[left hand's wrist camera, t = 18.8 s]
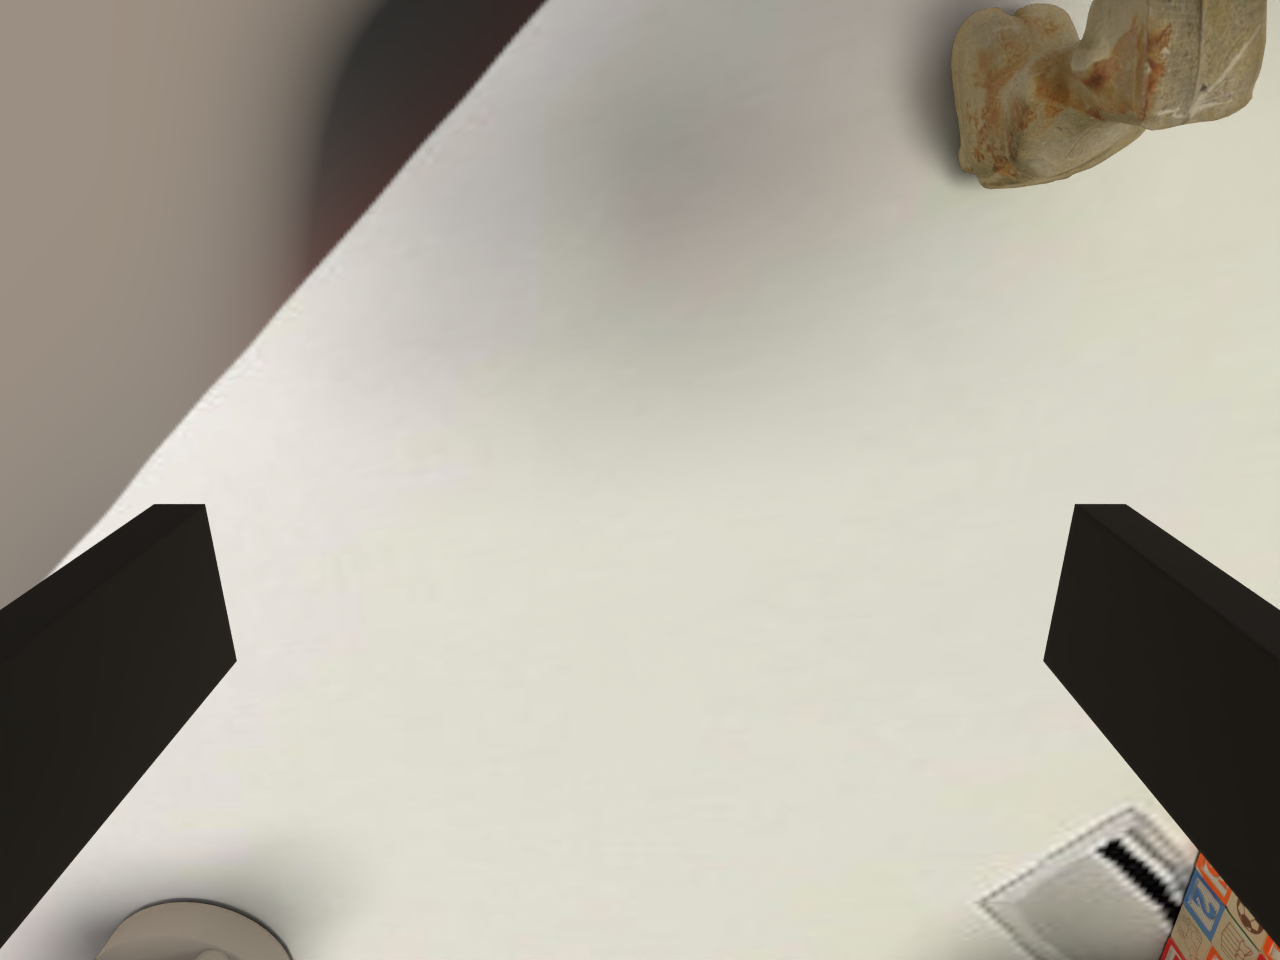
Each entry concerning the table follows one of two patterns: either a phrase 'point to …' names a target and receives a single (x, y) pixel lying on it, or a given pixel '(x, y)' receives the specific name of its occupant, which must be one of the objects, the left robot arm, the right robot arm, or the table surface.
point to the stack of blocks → (1216, 924)
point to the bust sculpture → (190, 935)
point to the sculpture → (1095, 80)
